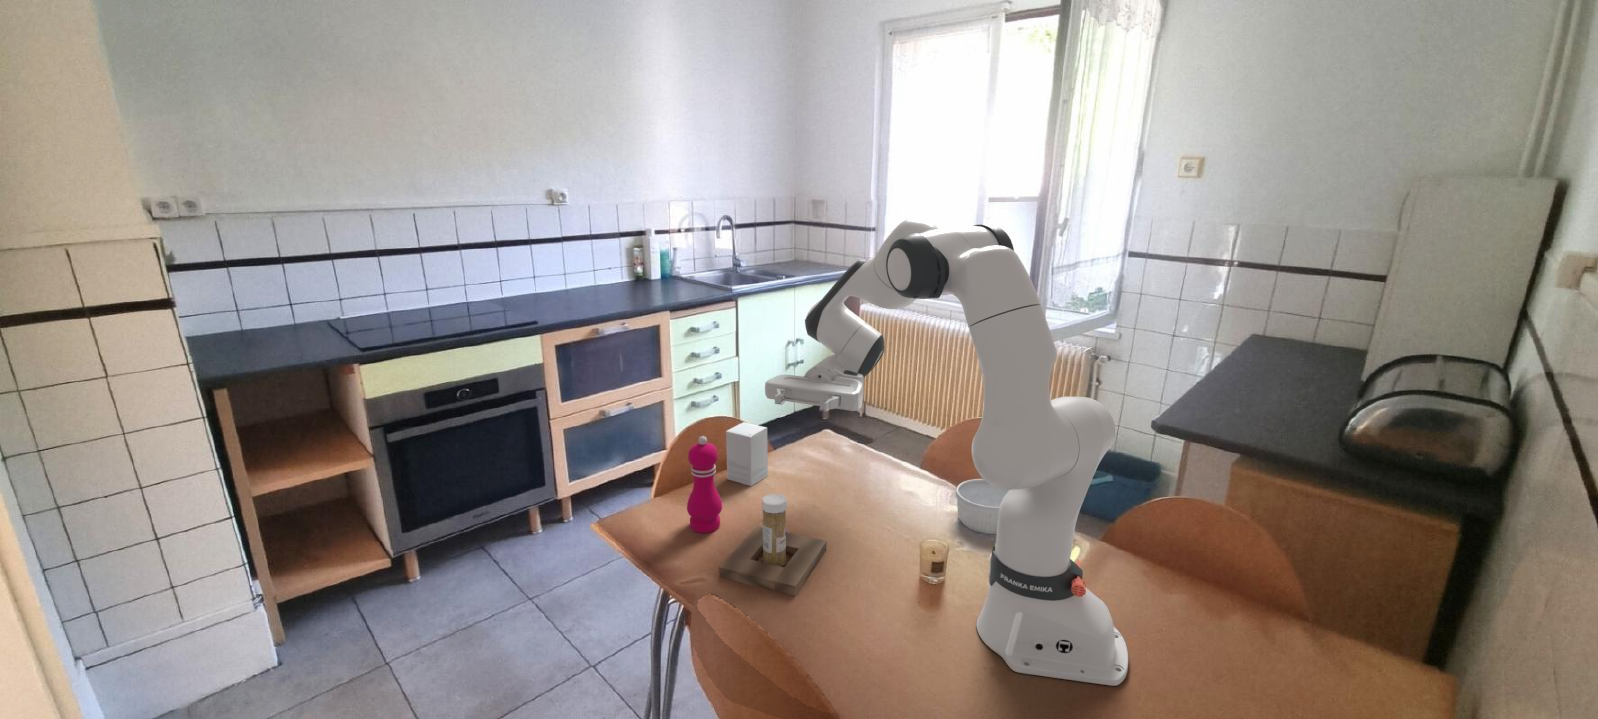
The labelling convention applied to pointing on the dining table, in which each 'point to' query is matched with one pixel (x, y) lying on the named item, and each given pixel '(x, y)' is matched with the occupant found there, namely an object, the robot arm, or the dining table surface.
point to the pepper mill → (704, 488)
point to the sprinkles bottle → (774, 529)
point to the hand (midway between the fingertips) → (800, 403)
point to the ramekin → (979, 505)
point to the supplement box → (747, 453)
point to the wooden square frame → (771, 576)
